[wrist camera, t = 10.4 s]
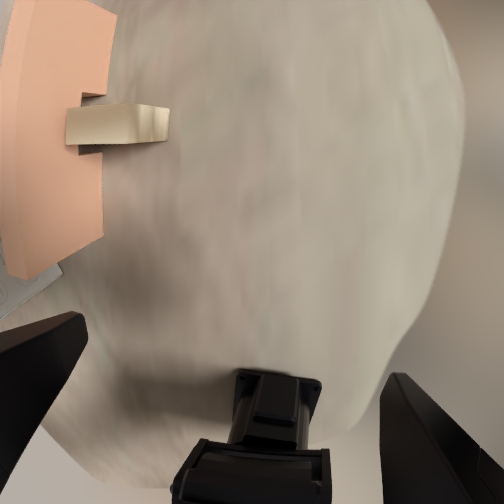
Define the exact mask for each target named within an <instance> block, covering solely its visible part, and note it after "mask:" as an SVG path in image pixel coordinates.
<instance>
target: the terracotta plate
mask: <svg viewBox="0 0 504 504" xmlns="http://www.w3.org/2000/svg"><path fill="white" fill-rule="evenodd" d="M116 21H117V15H115V14H113V13H111V12H109V11H107V10H105V9H103V8H101V7H99V6H96V5H94V4H92V3H90V2H88V1H86V0H15V3H14V7H13V10H12V14H11V18H10V22H9V27H8V31H7V36H6V40H5V45H4V51H3V56H2V63H1V69H0V233H1V240H2V246H3V252H4V258H5V263H6V268H7V273H8V274H9V275H12V276H15V277H18V278H21V279H24V280H27V281H29V280H31V279H32V278H34V277H35V276H37V275H38V274H40V273H42V272H43V271H45V270H46V269H48V268H50V267H51V266H53V265H55V264H56V263H58V262H60V261H61V260H63V259H65V258H66V257H68V256H70V255H71V254H73V253H75V252H76V251H78V250H80V249H81V248H83V247H85V246H87V245H88V244H90V243H92V242H94V241H95V240H97V239H99V238H101V237H102V236H104V233H103V209H102V153H103V152H79V153H78V148H79V144H74V145H66V121H67V108H75V107H81V97H90V96H100V95H106V90H107V81H108V72H109V65H110V57H111V50H112V44H113V38H114V32H115V26H116Z"/></svg>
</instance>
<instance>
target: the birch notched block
mask: <svg viewBox="0 0 504 504" xmlns="http://www.w3.org/2000/svg"><path fill="white" fill-rule="evenodd" d="M169 115H170V109H167V108H160V107H154V106H147V105H140V104H133V103H119V104H105V105H94V106H84V107H75V108H67V121H66V145H74V144H130V143H142V142H155V141H168V127H169Z"/></svg>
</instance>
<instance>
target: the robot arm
mask: <svg viewBox="0 0 504 504" xmlns="http://www.w3.org/2000/svg"><path fill="white" fill-rule="evenodd" d="M87 342H88V332H87V327H86V322H85V318H84V316H83V315H82V314H81V313H77V312H74V311H70V312H67V313H63V314H60V315H57V316H54V317H50V318H47V319H44V320H40V321H37V322H34V323H31V324H27V325H24V326H21V327H17V328H14V329H11V330H7V331H4V332H1V333H0V494H1V492H2V490H3V488H4V487H5V485H6V483H7V481H8V479H9V477H10V475H11V473H12V471H13V469H14V468H15V466H16V464H17V462H18V460H19V459H20V457H21V455H22V453H23V451H24V449H25V448H26V446H27V444H28V443H29V441H30V439H31V438H32V436H33V434H34V433H35V431H36V429H37V428H38V426H39V424H40V423H41V421H42V419H43V418H44V416H45V415H46V413H47V411H48V410H49V408H50V407H51V405H52V403H53V402H54V400H55V399H56V397H57V396H58V394H59V393H60V391H61V389H62V388H63V386H64V385H65V383H66V382H67V380H68V378H69V376H70V375H71V373H72V371H73V369H74V367H75V365H76V363H77V361H78V359H79V357H80V356H81V354H82V352H83V350H84V348H85V346H86V344H87ZM241 375H244V376H245V377H243V376H241ZM314 386H316V387H314ZM321 390H322V384H321V382H319V381H316V380H308V379H300V378H293V377H286V376H279V375H273V374H267V373H261V372H255V371H249V370H239V371H238V373H237V376H236V386H235V397H234V407H233V418H232V421H233V424H232V427H231V431H230V434H229V438H228V441H227V443H221V442H214V441H209V440H208V439H202V438H201V439H200V440H199V442H198V443H197V445H196V446H195V447H194V448H193V450H192V451H191V453H190V455H189V456H188V458H187V459H186V461H185V462H184V464H183V465H182V467H181V469H180V470H179V472H178V473H177V475H176V476H175V478H174V481H173V484H172V485H171V486H170V492H171V494H172V504H331V502H332V478H331V463H330V450H329V449H321V450H307V449H308V432H309V424H310V421H311V418H312V416H313V413H314V410H315V407H316V404H317V401H318V398H319V396H320V393H321ZM380 458H381V471H382V484H383V503H384V504H504V469H503V468H502V467H501V466H500V465H499V464H497V463H496V462H495V461H494V460H493V459H492V458H491V457H490V456H489V455H488V454H487V453H486V452H485V451H484V450H483V449H482V448H480V446H479V445H478V444H477V443H476V442H475V441H474V440H473V439H472V438H471V437H470V436H469V435H468V434H467V433H466V432H465V431H464V430H463V429H462V428H461V427H460V426H459V425H458V424H457V423H456V422H455V421H454V420H453V419H452V418H451V417H450V416H449V415H448V414H447V413H446V412H445V411H444V410H443V409H442V408H441V407H440V406H439V405H438V404H437V403H436V402H435V401H434V400H433V399H432V398H431V397H430V396H429V395H428V394H427V393H426V392H424V391H423V390H422V388H421V387H419V385H418V384H416V383H415V382H414V381H413V380H412V379H411V378H410V377H409V376H408V375H407V374H406V373H401V372H393V373H391V374H390V375H389V378H388V380H387V382H386V384H385V386H384V388H383V390H382V393H381V396H380Z"/></svg>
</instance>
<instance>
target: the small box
mask: <svg viewBox="0 0 504 504" xmlns="http://www.w3.org/2000/svg"><path fill="white" fill-rule="evenodd" d="M61 275H62V271H61V269H60V267H59V266H58V264H57V263H56V264H55V265H53V266H51V267H50V268H48V269H46V270H45V271H43V272H42V273H40V274H38V275H37V276H35V277H34V278H32V279H31V280H29V281H27V280H24V279H21V278H18V277H15V276H12V275H9V274H8V273H7V268H6V263H5V258H4V252H3V246H2V240H1V233H0V320H2V319H3V318H4V317H6V316H7V315H8V314H10V313H11V312H12V311H14V310H15V309H16V308H18V307H19V306H20V305H22V304H23V303H24V302H26V301H27V300H28V299H30V298H31V297H32V296H34V295H35V294H37V293H38V292H39V291H41V290H42V289H43V288H45V287H46V286H48V285H49V284H50V283H52V282H53V281H54V280H56V279H57V278H58V277H60V276H61Z"/></svg>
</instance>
